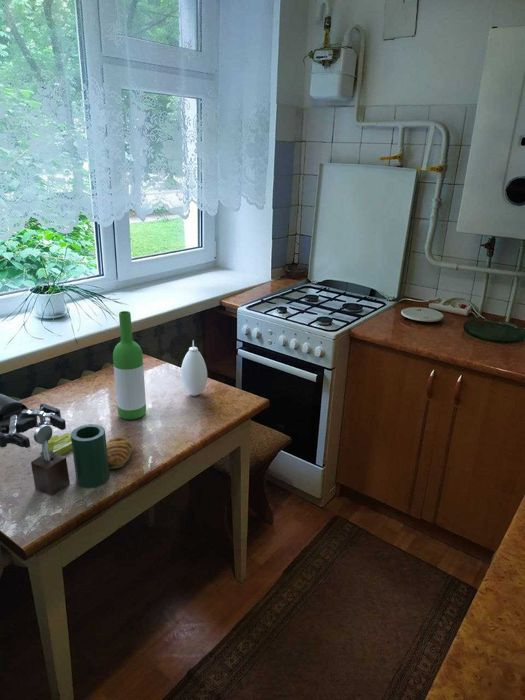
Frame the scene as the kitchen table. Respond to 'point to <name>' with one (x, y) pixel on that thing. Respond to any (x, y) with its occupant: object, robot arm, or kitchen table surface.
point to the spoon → (44, 439)
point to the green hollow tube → (90, 455)
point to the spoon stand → (50, 474)
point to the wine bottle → (129, 372)
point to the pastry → (118, 452)
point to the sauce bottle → (193, 372)
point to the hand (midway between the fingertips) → (46, 434)
